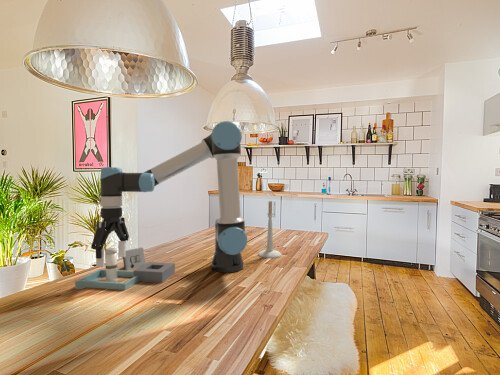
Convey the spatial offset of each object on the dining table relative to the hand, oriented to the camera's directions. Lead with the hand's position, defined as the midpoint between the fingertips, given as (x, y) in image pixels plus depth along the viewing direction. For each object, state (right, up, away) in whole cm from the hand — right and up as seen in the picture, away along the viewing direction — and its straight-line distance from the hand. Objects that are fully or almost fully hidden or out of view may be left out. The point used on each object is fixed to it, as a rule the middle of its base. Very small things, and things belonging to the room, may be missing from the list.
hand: (111, 261), depth 111 cm
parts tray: (0, -9, 0) cm, 9 cm away
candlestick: (+65, -8, +46) cm, 80 cm away
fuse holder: (+15, -9, +6) cm, 18 cm away
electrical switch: (+1, -9, +19) cm, 21 cm away
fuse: (0, -8, 0) cm, 8 cm away
